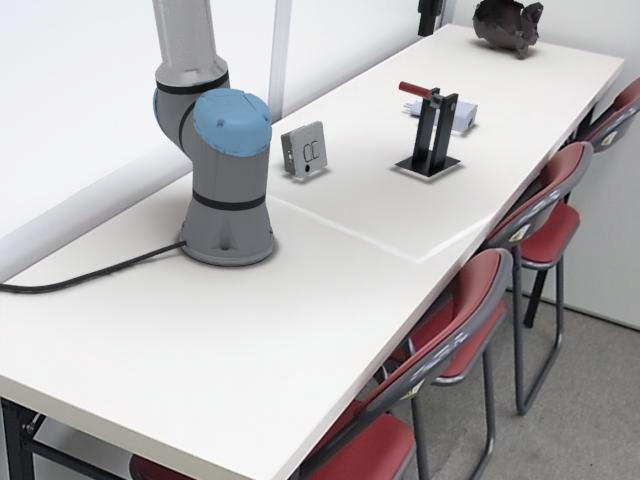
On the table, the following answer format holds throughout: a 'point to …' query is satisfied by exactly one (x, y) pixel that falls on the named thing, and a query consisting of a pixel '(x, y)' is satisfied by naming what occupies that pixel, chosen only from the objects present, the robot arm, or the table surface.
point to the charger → (461, 119)
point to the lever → (422, 94)
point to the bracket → (436, 158)
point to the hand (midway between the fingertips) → (425, 34)
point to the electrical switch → (304, 149)
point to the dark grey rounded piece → (507, 23)
